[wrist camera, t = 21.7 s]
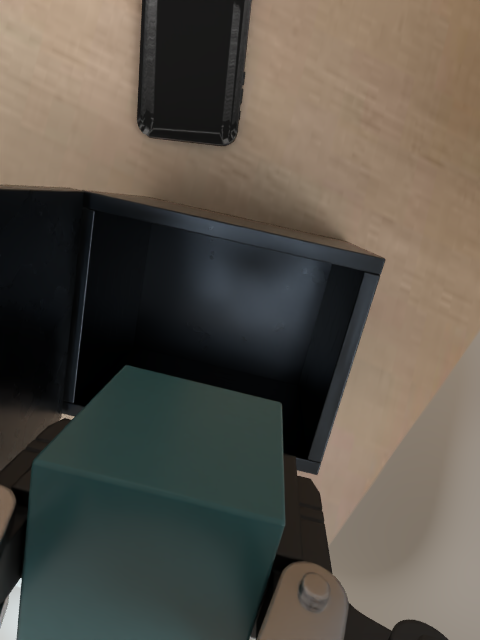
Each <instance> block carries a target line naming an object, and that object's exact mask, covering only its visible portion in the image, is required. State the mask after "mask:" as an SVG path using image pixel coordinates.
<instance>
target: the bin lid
mask: <svg viewBox="0 0 480 640" xmlns="http://www.w3.org/2000/svg"><path fill="white" fill-rule="evenodd" d="M83 195H84V191H81V190H77V189H72V188H60V187H39V186H19V185H0V471H1V470H2V469H3V468H4V467H5V466H6V465H7V464H8V463H9V462H11V461H12V460H13V459H14V458H15V457H16V456H17V455H18V454H19V453H20V452H21V451H22V450H23V449H26V446H27V445H28V444H29V443H30V442H32V441H33V440H35V439H36V437H37V436H38V435H39V434H40V433H41V432H42V431H43V430H44V429H45V428H46V427H47V426H49V425H51V424H53V423H56V422H58V421H59V420H60V418H61V414H62V404H63V394H64V384H65V374H66V364H67V354H68V344H69V335H70V325H71V315H72V305H73V295H74V285H75V275H76V265H77V255H78V245H79V235H80V225H81V215H82V205H83Z"/></svg>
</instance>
